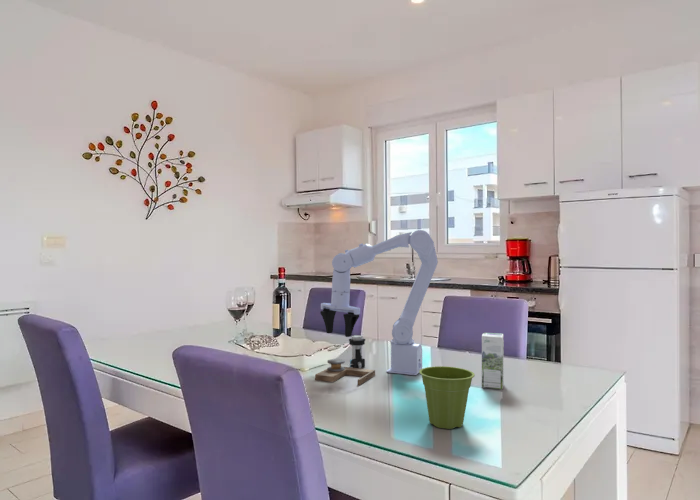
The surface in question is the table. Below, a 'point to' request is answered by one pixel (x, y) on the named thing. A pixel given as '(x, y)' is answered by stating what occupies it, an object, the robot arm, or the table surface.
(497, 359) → the syrup box
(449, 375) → the plant pot
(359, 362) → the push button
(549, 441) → the table surface
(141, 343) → the table surface
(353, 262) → the robot arm
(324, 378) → the notched board
